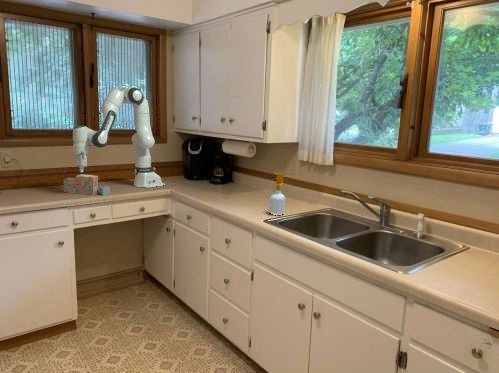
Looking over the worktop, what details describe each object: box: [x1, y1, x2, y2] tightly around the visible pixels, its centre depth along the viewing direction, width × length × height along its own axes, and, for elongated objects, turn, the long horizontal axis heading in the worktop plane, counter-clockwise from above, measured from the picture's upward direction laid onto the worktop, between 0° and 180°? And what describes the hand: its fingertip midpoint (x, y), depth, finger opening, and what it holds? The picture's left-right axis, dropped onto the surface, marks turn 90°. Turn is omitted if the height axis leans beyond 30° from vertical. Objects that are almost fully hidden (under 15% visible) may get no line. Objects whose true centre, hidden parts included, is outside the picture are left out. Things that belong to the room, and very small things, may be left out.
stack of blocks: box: [63, 173, 99, 196], centre depth 256 cm, size 21×6×12 cm, turn 80°
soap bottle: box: [268, 172, 286, 213], centre depth 224 cm, size 9×9×25 cm
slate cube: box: [98, 185, 111, 196], centre depth 256 cm, size 5×5×5 cm
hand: (81, 171), depth 255 cm, fingers closed
